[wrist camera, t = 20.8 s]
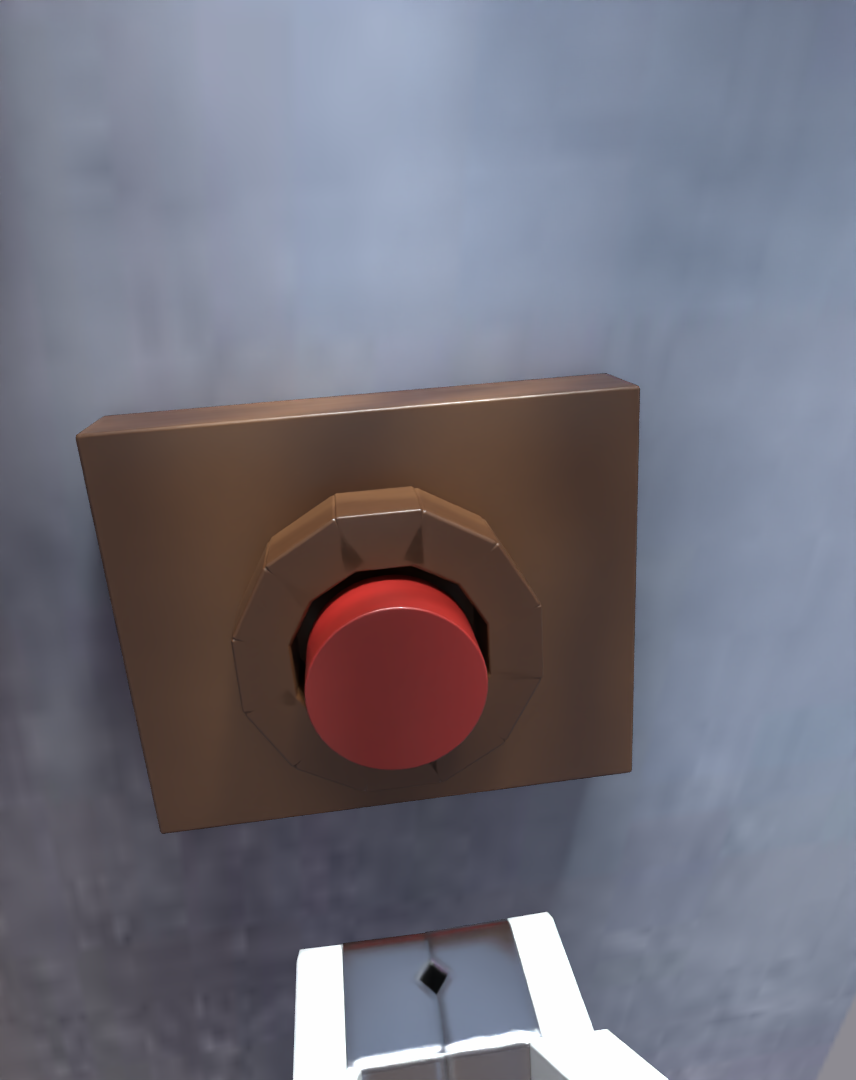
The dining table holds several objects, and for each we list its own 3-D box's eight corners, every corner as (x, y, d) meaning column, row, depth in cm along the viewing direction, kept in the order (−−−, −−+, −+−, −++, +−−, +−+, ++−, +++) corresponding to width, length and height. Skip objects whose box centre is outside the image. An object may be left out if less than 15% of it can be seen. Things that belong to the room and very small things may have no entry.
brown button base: (608, 372, 20) (675, 398, 16) (605, 727, 23) (660, 818, 19) (101, 415, 19) (44, 454, 15) (175, 781, 22) (144, 889, 18)
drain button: (469, 565, 17) (485, 597, 15) (476, 714, 18) (492, 759, 16) (296, 583, 17) (293, 618, 15) (316, 733, 18) (315, 781, 16)
